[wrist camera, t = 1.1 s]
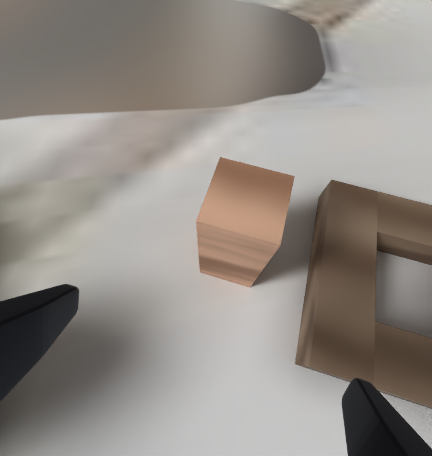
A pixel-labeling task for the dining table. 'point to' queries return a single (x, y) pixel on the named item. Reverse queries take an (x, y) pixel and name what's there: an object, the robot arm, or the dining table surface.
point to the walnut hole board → (363, 292)
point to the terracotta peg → (242, 220)
